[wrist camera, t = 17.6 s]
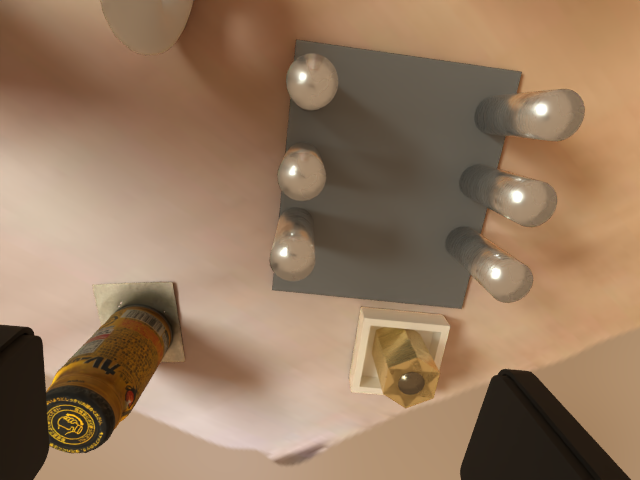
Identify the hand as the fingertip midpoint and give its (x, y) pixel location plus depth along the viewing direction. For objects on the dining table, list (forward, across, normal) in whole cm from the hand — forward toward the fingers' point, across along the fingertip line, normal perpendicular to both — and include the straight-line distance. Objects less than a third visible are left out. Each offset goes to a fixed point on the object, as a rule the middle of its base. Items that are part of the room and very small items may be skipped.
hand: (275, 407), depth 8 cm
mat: (+27, -9, -1) cm, 28 cm away
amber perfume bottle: (+26, -13, +14) cm, 32 cm away
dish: (+26, -13, +15) cm, 33 cm away
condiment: (+28, +12, +16) cm, 34 cm away
